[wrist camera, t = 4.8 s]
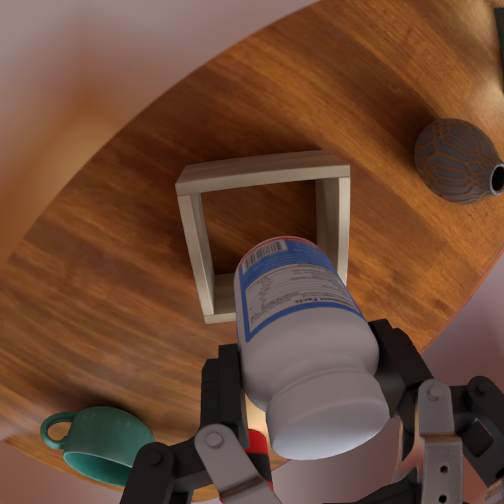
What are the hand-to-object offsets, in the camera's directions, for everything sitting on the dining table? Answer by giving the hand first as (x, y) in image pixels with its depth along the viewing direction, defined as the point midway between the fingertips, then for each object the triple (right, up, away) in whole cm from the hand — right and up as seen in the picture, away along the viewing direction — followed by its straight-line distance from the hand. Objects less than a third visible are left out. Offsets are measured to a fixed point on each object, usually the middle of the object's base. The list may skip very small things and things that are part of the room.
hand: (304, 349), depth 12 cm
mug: (-23, -19, +24) cm, 39 cm away
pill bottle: (0, +3, +5) cm, 6 cm away
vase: (+14, +13, +11) cm, 22 cm away
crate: (-1, +7, +13) cm, 14 cm away
